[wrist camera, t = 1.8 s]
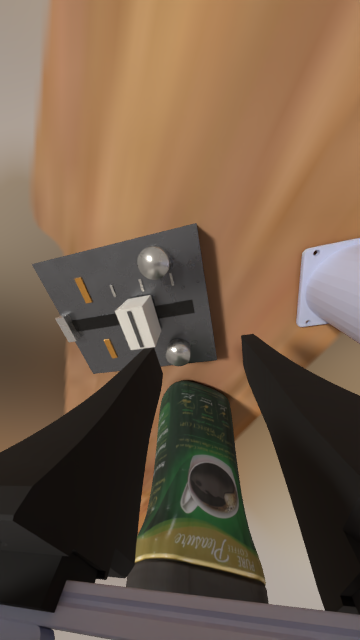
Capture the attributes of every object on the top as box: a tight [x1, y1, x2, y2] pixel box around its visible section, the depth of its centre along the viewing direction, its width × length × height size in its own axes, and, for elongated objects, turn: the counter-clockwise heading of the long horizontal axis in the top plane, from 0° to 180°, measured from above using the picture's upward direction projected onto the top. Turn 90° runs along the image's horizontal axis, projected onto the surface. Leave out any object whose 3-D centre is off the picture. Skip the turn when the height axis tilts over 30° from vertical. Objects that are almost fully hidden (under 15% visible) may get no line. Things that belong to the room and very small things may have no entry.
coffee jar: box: [126, 380, 268, 604], centre depth 17 cm, size 10×8×19 cm
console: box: [32, 223, 217, 374], centre depth 18 cm, size 16×14×3 cm
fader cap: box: [115, 295, 161, 350], centre depth 16 cm, size 2×4×3 cm, turn 12°
